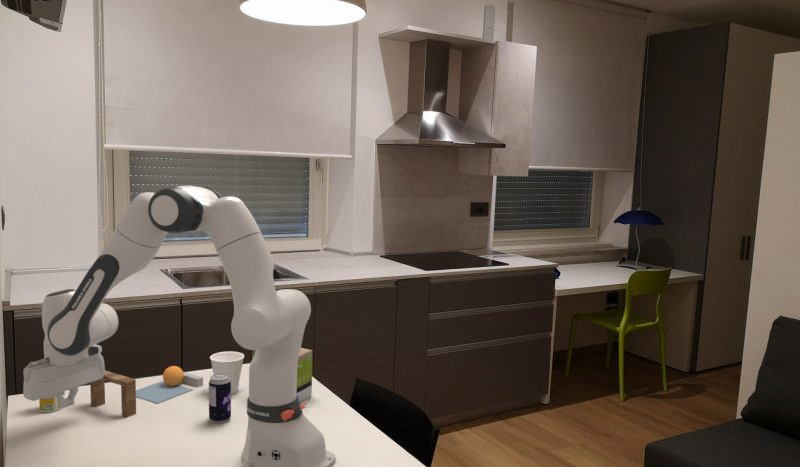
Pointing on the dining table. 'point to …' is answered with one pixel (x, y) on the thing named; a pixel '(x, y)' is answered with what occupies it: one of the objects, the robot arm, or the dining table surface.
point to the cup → (228, 366)
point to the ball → (173, 376)
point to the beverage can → (219, 398)
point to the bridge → (126, 392)
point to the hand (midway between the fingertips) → (67, 406)
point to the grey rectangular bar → (192, 380)
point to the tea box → (303, 374)
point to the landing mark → (160, 392)
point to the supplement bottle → (49, 404)
